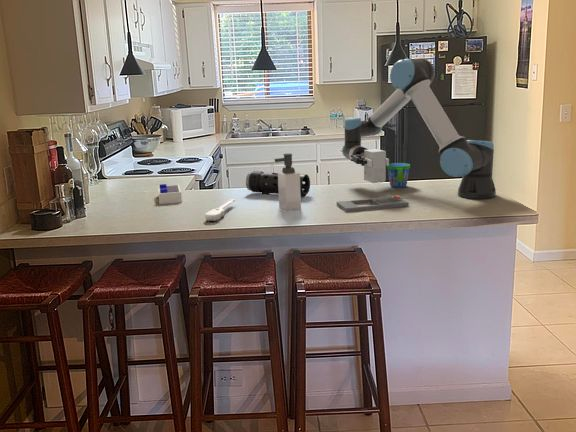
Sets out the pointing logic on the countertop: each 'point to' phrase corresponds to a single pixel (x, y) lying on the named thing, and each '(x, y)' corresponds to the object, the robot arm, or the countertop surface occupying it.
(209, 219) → the white spoon
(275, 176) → the muzzle brake
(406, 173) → the snack cup
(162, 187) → the cable clip
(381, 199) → the socket strip
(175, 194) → the box
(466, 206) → the countertop surface
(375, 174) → the small box
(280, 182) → the soap dispenser
